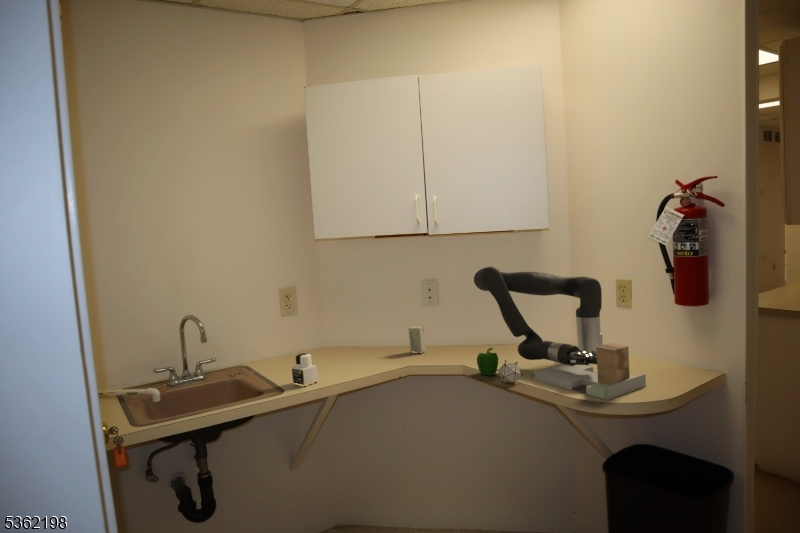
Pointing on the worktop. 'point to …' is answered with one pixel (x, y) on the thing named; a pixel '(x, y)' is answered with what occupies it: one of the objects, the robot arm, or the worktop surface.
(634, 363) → the worktop surface
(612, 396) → the board
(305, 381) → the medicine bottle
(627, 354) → the walnut block
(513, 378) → the game die
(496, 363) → the bell pepper
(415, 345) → the skincare box
